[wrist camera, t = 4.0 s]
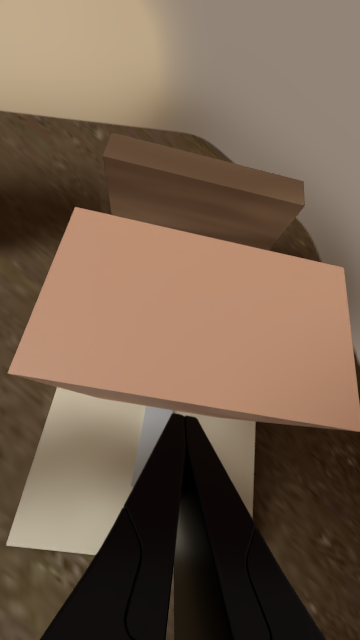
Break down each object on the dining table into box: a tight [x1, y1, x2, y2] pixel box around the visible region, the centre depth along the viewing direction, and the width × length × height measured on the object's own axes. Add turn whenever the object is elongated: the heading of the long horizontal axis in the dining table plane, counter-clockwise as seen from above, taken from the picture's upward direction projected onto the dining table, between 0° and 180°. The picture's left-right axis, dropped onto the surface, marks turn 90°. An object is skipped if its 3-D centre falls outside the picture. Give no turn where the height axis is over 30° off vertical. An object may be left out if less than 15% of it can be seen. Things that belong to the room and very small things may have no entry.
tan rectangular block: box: [8, 207, 360, 432], centre depth 10 cm, size 4×7×10 cm, turn 81°
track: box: [6, 133, 305, 555], centre depth 13 cm, size 19×12×8 cm, turn 171°
